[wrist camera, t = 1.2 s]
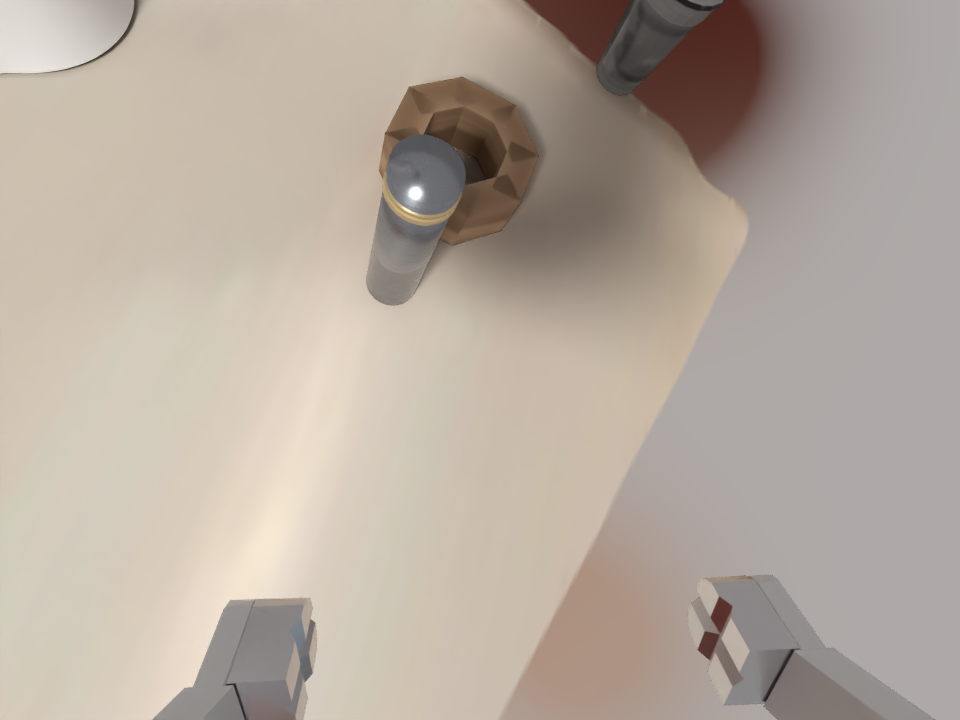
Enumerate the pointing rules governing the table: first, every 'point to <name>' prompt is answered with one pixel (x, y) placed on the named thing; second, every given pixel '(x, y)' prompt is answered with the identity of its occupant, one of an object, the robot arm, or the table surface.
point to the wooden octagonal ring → (470, 149)
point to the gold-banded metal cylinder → (412, 214)
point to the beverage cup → (647, 39)
